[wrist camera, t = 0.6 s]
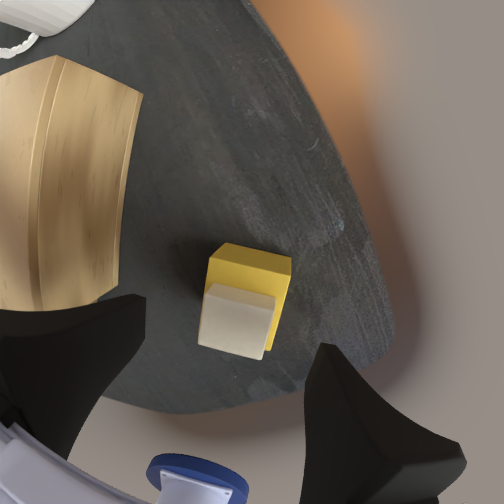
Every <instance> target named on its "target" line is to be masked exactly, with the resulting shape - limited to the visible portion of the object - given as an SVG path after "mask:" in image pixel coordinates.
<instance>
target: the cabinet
mask: <svg viewBox="0 0 504 504" xmlns="http://www.w3.org/2000/svg"><path fill="white" fill-rule="evenodd" d="M142 99H143V94H142V93H140V92H138V91H136V90H134V89H132V88H130V87H128V86H126V85H124V84H122V83H120V82H118V81H116V80H114V79H111V78H109V77H107V76H105V75H103V74H101V73H98V72H96V71H94V70H92V69H89V68H87V67H85V66H82V65H80V64H78V63H75V62H73V61H71V60H68V59H65V58H63V57H60V56H58V55H55V56H52V57H48V58H45V59H42V60H39V61H36V62H33V63H31V64H28V65H25V66H23V67H20V68H18V69H15V70H13V71H10V72H8V73H6V74H3V75H1V76H0V309H6V310H15V311H52V310H61V309H68V308H74V307H78V306H83V305H88V304H90V303H91V302H93V301H94V300H96V299H97V298H99V297H100V296H102V295H104V294H105V293H107V292H108V291H110V290H111V289H113V288H114V287H116V286H117V285H118V269H119V249H120V234H121V222H122V212H123V203H124V195H125V187H126V180H127V173H128V167H129V161H130V155H131V149H132V144H133V139H134V134H135V129H136V124H137V120H138V115H139V111H140V107H141V103H142Z"/></svg>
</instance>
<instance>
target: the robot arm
mask: <svg viewBox="0 0 504 504" xmlns="http://www.w3.org/2000/svg"><path fill="white" fill-rule="evenodd" d="M145 317H146V298H145V297H142V296H139V295H136V294H129V295H124V296H120V297H116V298H112V299H108V300H104V301H100V302H96V303H92V304H88V305H83V306H78V307H74V308H68V309H61V310H52V311H15V310H6V309H0V504H150V503H148V502H145V501H143V500H140V499H138V498H136V497H133V496H131V495H129V494H126V493H124V492H122V491H120V490H118V489H116V488H114V487H112V486H110V485H108V484H106V483H104V482H102V481H100V480H98V479H96V478H95V477H93V476H91V475H89V474H88V473H86V472H84V471H82V470H81V469H79V468H77V467H76V466H74V465H72V464H71V463H69V462H68V461H67V459H68V456H69V453H70V451H71V449H72V447H73V444H74V442H75V440H76V438H77V436H78V434H79V432H80V430H81V428H82V426H83V424H84V422H85V421H86V419H87V417H88V415H89V414H90V412H91V410H92V409H93V407H94V405H95V404H96V402H97V401H98V399H99V398H100V396H101V395H102V393H103V392H104V391H105V389H106V388H107V387H108V386H109V384H110V383H111V382H112V381H113V380H114V379H115V377H116V376H117V375H118V374H119V373H120V372H121V371H122V369H123V368H124V367H125V366H126V365H127V364H128V362H129V361H130V360H131V359H132V358H133V356H134V355H135V354H136V352H137V351H138V349H139V348H140V346H141V344H142V342H143V341H144V339H145ZM304 415H305V436H306V458H305V468H304V477H303V484H302V491H301V497H300V502H299V504H439V500H438V497H437V496H438V495H439V494H440V493H441V492H443V491H444V490H445V489H446V488H447V487H448V486H450V485H451V484H452V483H453V482H454V481H455V480H456V479H457V478H458V477H459V476H460V475H461V474H462V472H463V471H464V469H465V467H466V464H467V461H466V459H465V457H464V454H463V452H462V449H461V447H460V445H459V443H458V442H455V441H452V440H450V439H447V438H445V437H442V436H440V435H438V434H435V433H433V432H431V431H429V430H427V429H426V428H424V427H422V426H420V425H418V424H417V423H415V422H413V421H412V420H410V419H409V418H407V417H406V416H404V415H403V414H402V413H400V412H399V411H397V410H396V409H395V408H393V407H392V406H391V405H390V404H389V403H388V402H386V401H385V400H384V399H383V398H382V397H381V396H380V395H378V394H377V393H376V392H375V391H374V390H373V388H372V387H371V386H370V385H369V384H368V383H367V382H366V381H365V380H364V379H363V378H362V377H361V375H360V374H359V373H358V372H357V371H356V369H355V368H354V367H353V366H352V365H351V363H350V362H349V361H348V360H347V358H346V357H345V356H344V355H343V353H342V352H341V351H340V350H339V348H338V347H337V346H336V345H332V344H327V343H322V342H321V343H320V346H319V349H318V351H317V354H316V356H315V359H314V362H313V364H312V367H311V369H310V372H309V374H308V376H307V379H306V382H305V393H304ZM160 477H161V486H162V490H161V492H160V494H159V497H158V499H157V501H156V503H155V504H227V503H228V501H229V499H230V497H231V494H232V492H233V490H232V489H231V488H227V487H223V486H219V485H214V484H211V483H207V482H203V481H200V480H196V479H193V478H189V477H186V476H183V475H180V474H177V473H174V472H171V471H168V470H165V469H161V471H160ZM464 504H468V503H464Z"/></svg>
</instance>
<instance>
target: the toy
mask: <svg viewBox="0 0 504 504" xmlns="http://www.w3.org/2000/svg"><path fill="white" fill-rule="evenodd" d="M290 278H291V258H290V257H286V256H282V255H277V254H273V253H269V252H265V251H260V250H256V249H252V248H247V247H243V246H239V245H234V244H230V243H224V244H223V245H222V246H221V247H220V248H219V249H218V250H217V251H216V252H215V253H214V254H213V255H212V256H210V258H209V264H208V270H207V277H206V283H205V290H204V297H203V303H202V310H201V317H200V325H199V337H198V344H200V345H203V346H207V347H210V348H214V349H218V350H221V351H225V352H229V353H233V354H237V355H241V356H245V357H249V358H253V359H257V360H261V359H262V357H263V353H264V350H268V351H270V350H271V347H272V343H273V340H274V336H275V333H276V329H277V326H278V322H279V319H280V315H281V312H282V308H283V304H284V301H285V297H286V293H287V289H288V285H289V282H290Z"/></svg>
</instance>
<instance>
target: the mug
mask: <svg viewBox="0 0 504 504" xmlns="http://www.w3.org/2000/svg"><path fill="white" fill-rule="evenodd" d="M94 2H95V0H0V21H1V22H4V23H7V24H10V25H13V26H16V27H18V28H21V29H24V30H27V31H29V32H32V34H31V35H30V36H29V37H28V40H27V41H24V42H23V44H22V45H18V46H17V47H13V48H11V49H7V48H0V58H7V59H9V58H11V57H13V56H15V55H16V54H19V53H22V52H24V51H25V50H27V49H28V48H30V47H31V46H32V45H33V44H34V42H35V41H36V40H37V39H38V37H39V35H40V36H43V37H48V36H53V35H56V34H58V33H60V32H62V31H63V30H65V29H67V28H68V27H69V26H71V25H72V24H73V23H74V22H75V21H77V20H78V19H79V18H80V17H81V16H82V15H83V14H84V13H85V12H86V11H87V10H88V9H89V8H90V6H91V5H92V4H93V3H94Z"/></svg>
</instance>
